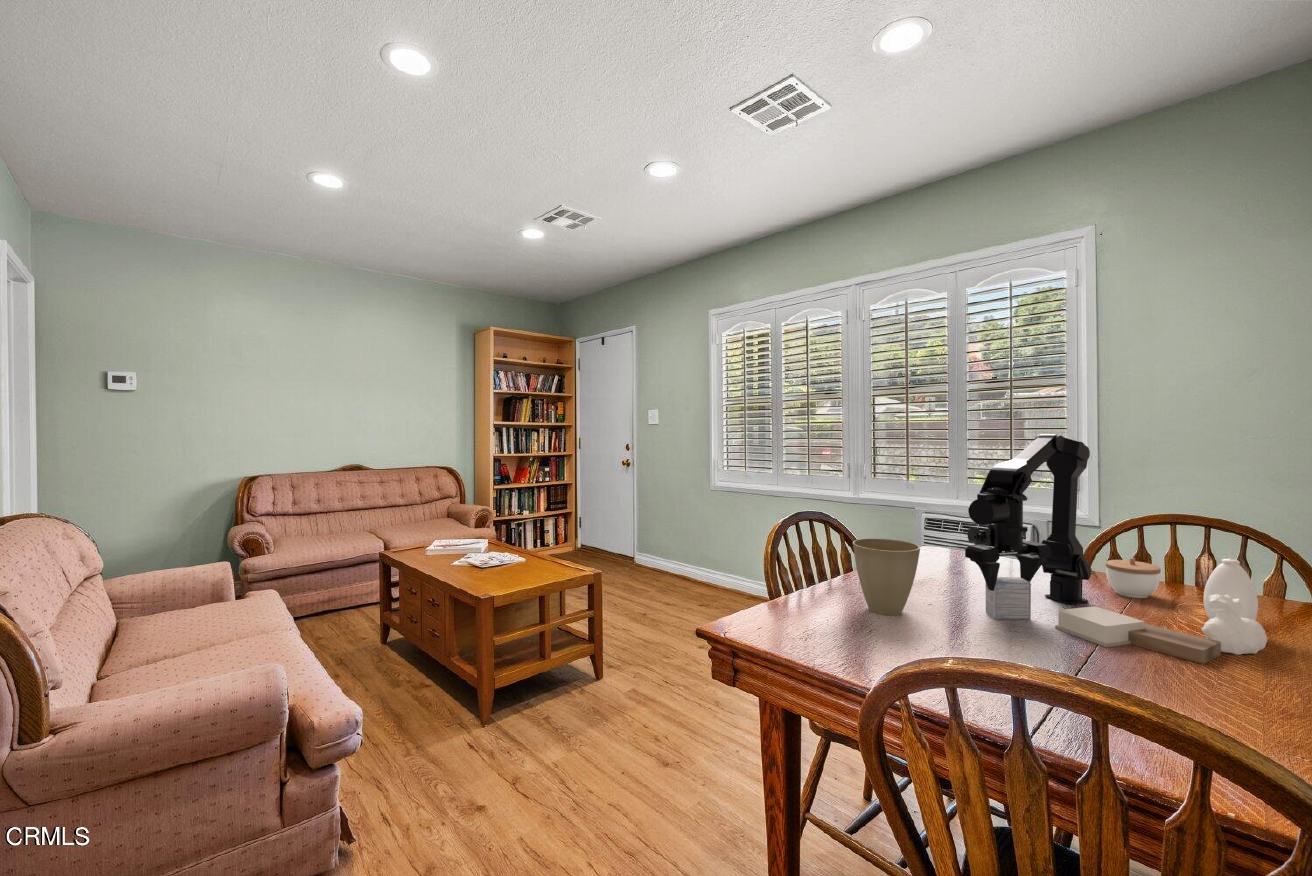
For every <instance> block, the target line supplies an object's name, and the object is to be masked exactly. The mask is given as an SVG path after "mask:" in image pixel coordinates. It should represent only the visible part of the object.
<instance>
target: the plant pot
mask: <svg viewBox="0 0 1312 876" xmlns="http://www.w3.org/2000/svg"><path fill="white" fill-rule="evenodd" d="M852 548H853V554H854V561H855V567H856V572H857V575H858V579H859V582H860V587H861V590H862V593H863V597H864V600H865V602H866V604H867V608H868V610H869V611H871V613H872V612H873V613H875V614H878V615H884V616H898V615H900V614H902V613H903V611H904V608H905V606H906V604H907V602H908V599H909V597H910V593H911V591H912V588H913V584H914V581H915V576H916V572H917V568H918V565H919V558H920V550H921V546H920V545H918V544H917V543H914V542H910V541H905V540H900V539H891V538H873V537H871V538H859V539H855V540H853V541H852Z"/></svg>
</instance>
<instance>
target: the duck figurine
mask: <svg viewBox="0 0 1312 876" xmlns="http://www.w3.org/2000/svg"><path fill="white" fill-rule="evenodd" d="M1208 604H1209V606H1210V609H1211V610H1212V611H1213V610H1216V612H1217V615H1216V617H1215V618H1213V619H1208V620H1206V621H1205V623H1204V624H1203V627H1202V628H1201V631H1202V632H1203V634H1204V636H1205V638H1206V639H1211V640H1215V641H1219V642H1221V653H1227V654H1228V653H1230V654H1234V655H1237V656H1240V655H1242V654H1244V655H1245V654H1246V655H1247V654H1253V655H1256V654H1257V653H1258V652H1259V651H1261V650H1264V649H1265V647H1266V645H1267V642H1268V636H1267V635H1266V630H1265V629H1264V628H1263V626H1262V624H1261V623H1259V622H1258V621H1257V620H1255V621H1253V620H1251V619H1247V618H1243V617H1240V616H1239V613H1241V611H1243V610H1244V606H1243V605H1242V604H1241V603H1240V599H1233V598H1231V597H1230V596H1229V595H1225V596H1223V595H1219V594H1215V595H1214V594H1213V595H1211V596H1209V597H1208Z"/></svg>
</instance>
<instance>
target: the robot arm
mask: <svg viewBox="0 0 1312 876" xmlns="http://www.w3.org/2000/svg"><path fill="white" fill-rule="evenodd" d="M1090 452H1091V451H1090V449H1089V446H1087V445H1086V444H1085V443H1084V442H1082V441H1078V440H1074V439H1071V438H1067V437H1065V436H1063V435H1060V434H1058V433H1056V434H1055V433H1054V434H1053V433H1051V434H1050V433H1048V434H1047V433H1040V434H1037V435H1036V436H1035V438H1034V440H1033V441H1032V442H1031V443H1029V444H1028V446H1026V447H1025V448H1024V449H1023V450H1021V452H1019V453H1018V454H1017V455H1016V456H1015V457H1014V458H1012V459H1010V460H1006V461H1001V462H999V463H997V464H995V465H994V466H992V467H991V468H990V469H989V471H988V472H987V475H986V477H985V480H984V482H983V483H982V486H981V488H980V491H979V493H977V494H976V499H974V500H973V501H971V503H970V504H969V506H968V509H967V511H968V516H969V517H970V519H971V520H972V522H974V523H975V524H976V525H980V526H987V530H980V528H978V527H973V528H968V529H967V540H968V542H969V543H974V544H970V545H967V546H966V547H965V549H964V557H965V558H967V559H969V560H970V561H971V562H974V563H975V564H976V565H977V566H978V567H979V569H980V571H981V574H982V575H983V579H984V581H985V585H986V584H987V587H988V589H989V590H991V591H994V588H995V585H996V580H997V577H999V576H998V575H999V572H1000V566H1001V563H1000V562H998V561H999V560H1000V557H1006V556H1007V557H1008V556H1015V558H1016V559H1017V560H1018V562H1019V572H1020V577H1019V578H1022V579H1024V580H1026V581H1028V582H1030V583H1031V582H1032V581H1033V579H1034V577H1035V575H1036V574H1037V572H1038V570H1039V569H1040V568H1041V567H1042V572H1043V573H1045V574H1050V581H1049V593H1048V594H1044V597H1046V598H1048V599H1051V600H1055V601H1057V602H1060V603H1063V604H1065V605H1075V604H1082V603H1089V599H1086V598H1083V581H1090V578H1091V577H1092V576H1091V575H1092V567H1091V566H1090V565H1089V563H1088V561H1087V559H1086V558H1085V556H1084V547H1083V545H1082V544H1081V542H1080V541H1079V539H1078V538H1077V537H1076V536H1077V535H1076V533H1077V508H1078V507H1077V506H1078V488H1079V487H1078V486H1079V483H1078V482H1079V477H1080V476H1081V475H1082V473H1083V472H1085V470H1086V469H1087V467H1088V460H1089V459H1090V456H1091V455H1090V454H1091V453H1090ZM1045 462H1046V467H1047V469H1049V471H1050V473H1051V474H1052V475H1053V487H1052V488H1053V490H1052V508H1051V509H1052V510H1051V513H1052V514H1051V528H1050V530H1051V531H1050V532H1051V533H1050V535H1049V536H1048V537H1047V538H1046V539H1042V541H1041V542H1037V541H1036V542H1035V541H1033V540H1026V541H1024V540H1023V539H1024V533H1025V532H1028V526H1024V502H1025V501H1028V497H1027V496H1026V494H1024V492H1025V491H1026V490H1027V489H1028V488H1029V486H1030V485H1031V483H1032V482H1033V479H1032V474H1033V473H1035V472H1036V470H1037V469H1039V468H1040V467H1041V466H1042V465H1043V464H1045Z"/></svg>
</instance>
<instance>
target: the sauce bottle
mask: <svg viewBox="0 0 1312 876" xmlns="http://www.w3.org/2000/svg"><path fill="white" fill-rule="evenodd" d="M1232 549H1233V548H1232V547H1229V552H1228V558H1222V559H1221V563H1220V564H1218V565H1217V566H1216V567H1215V568H1214V569H1213V570H1212V572H1211V574H1210V575H1209V577H1208V579H1207V581H1206V583H1205V586H1204V591H1203V598H1202V599H1203V600H1202V601H1203V607H1204V611H1205V613H1206V616H1207V618H1208V620H1210V619H1213V618H1215V617H1216V615H1217V612H1216V610H1213V611H1212V610H1211V609H1210V606H1209V604H1208V597H1209V596H1211V595H1213V594H1214V595H1215V594H1219V595H1223V596H1225V595H1229V596H1230V597H1231V598H1233V599H1240V603H1241V604H1242V605H1243V606H1244V610H1243V611H1241V613H1239V616H1240V617H1243V618H1247V619H1251V620H1253V621H1256V619H1257V617H1258V610H1259V601H1258V600H1259V599H1258V595H1257V592H1256V587H1255V584H1254V583H1253V581H1252V579H1251V578H1250V575H1249V573H1247V571H1246V570H1245V569H1244V568H1243V567H1242V566H1241V565H1240V564H1241V562H1240V561H1239V560H1238V559H1233V550H1232Z"/></svg>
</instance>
